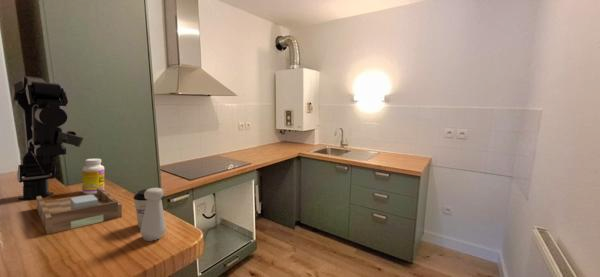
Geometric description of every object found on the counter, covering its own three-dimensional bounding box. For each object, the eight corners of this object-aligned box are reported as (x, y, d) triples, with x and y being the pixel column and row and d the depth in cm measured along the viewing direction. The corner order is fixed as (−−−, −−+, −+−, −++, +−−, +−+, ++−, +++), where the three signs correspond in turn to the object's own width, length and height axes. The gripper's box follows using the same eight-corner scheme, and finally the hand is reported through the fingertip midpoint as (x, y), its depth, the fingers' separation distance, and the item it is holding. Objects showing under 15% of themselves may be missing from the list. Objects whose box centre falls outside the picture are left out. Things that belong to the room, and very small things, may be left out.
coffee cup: (137, 221, 73) (137, 188, 72) (163, 219, 76) (163, 187, 75) (129, 231, 67) (130, 195, 66) (158, 229, 69) (159, 194, 68)
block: (70, 213, 71) (70, 198, 71) (92, 208, 75) (92, 194, 75) (75, 219, 67) (75, 203, 67) (98, 214, 71) (98, 199, 71)
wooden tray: (36, 208, 78) (36, 193, 77) (100, 197, 90) (100, 184, 90) (47, 234, 63) (46, 215, 62) (121, 217, 75) (121, 201, 75)
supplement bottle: (100, 194, 94) (100, 161, 93) (79, 195, 92) (78, 161, 91) (107, 189, 100) (107, 158, 99) (86, 189, 98) (86, 158, 97)
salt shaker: (154, 244, 61) (154, 193, 60) (134, 241, 62) (134, 190, 61) (170, 234, 67) (171, 187, 66) (152, 230, 68) (153, 184, 67)
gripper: (88, 127, 76) (88, 176, 77) (73, 122, 87) (74, 165, 89) (35, 126, 67) (36, 182, 69) (27, 121, 78) (28, 168, 80)
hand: (46, 173), depth 77 cm, fingers closed
